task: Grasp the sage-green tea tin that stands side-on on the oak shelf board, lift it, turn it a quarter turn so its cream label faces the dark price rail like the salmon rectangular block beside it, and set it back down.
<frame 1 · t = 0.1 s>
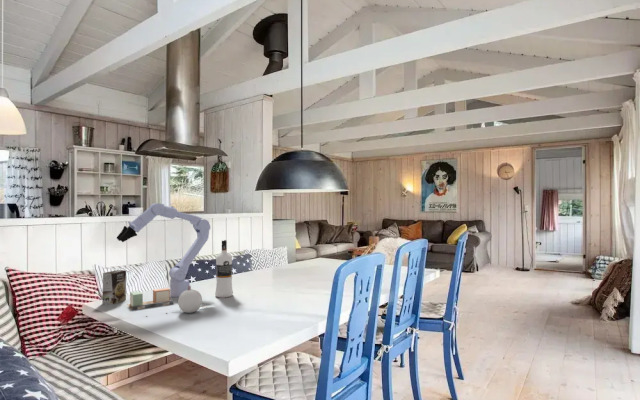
hand: (119, 240, 187), 32 cm above the table, tool tilted 50°, fingers open, 7 cm apart
shelf: (150, 306, 185), on the table
vodka: (224, 296, 206), on the table
salmon rectangular block: (161, 301, 189), point 1 cm above the table, touching shelf
ornament: (190, 312, 174), on the table
sage tin: (136, 305, 182), point 1 cm above the table, touching shelf
coffee box: (114, 304, 190), on the table
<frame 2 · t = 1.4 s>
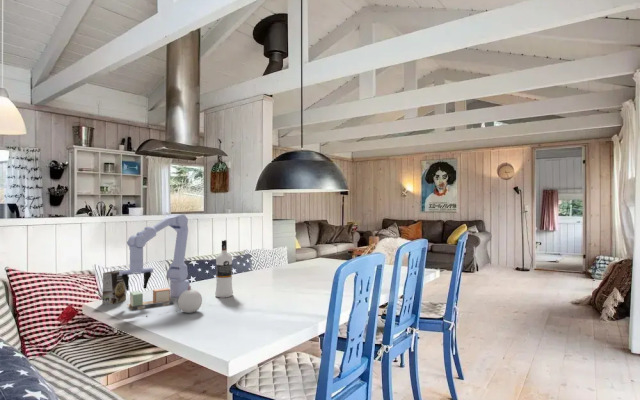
hand: (136, 289, 182), 9 cm above the table, tool pointing down, fingers open, 7 cm apart
nothing on the table moved.
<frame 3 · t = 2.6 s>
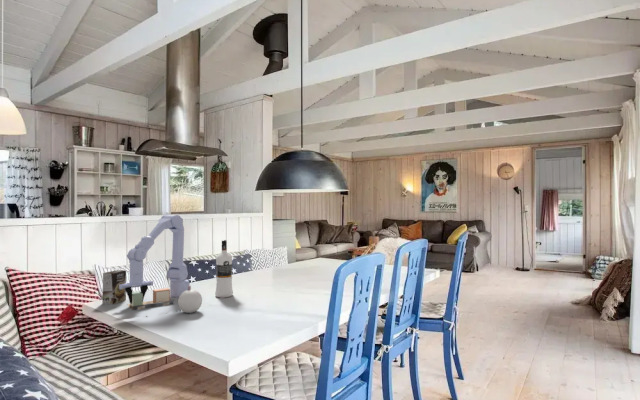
hand: (136, 302, 182), 3 cm above the table, tool pointing down, fingers closed on sage tin, 4 cm apart
sage tin: (136, 305, 182), point 1 cm above the table, touching gripper, shelf
everything else where it was.
when the fingers open (4 cm above the table, at t = 6.7 s): sage tin stays where it is, resting on shelf.
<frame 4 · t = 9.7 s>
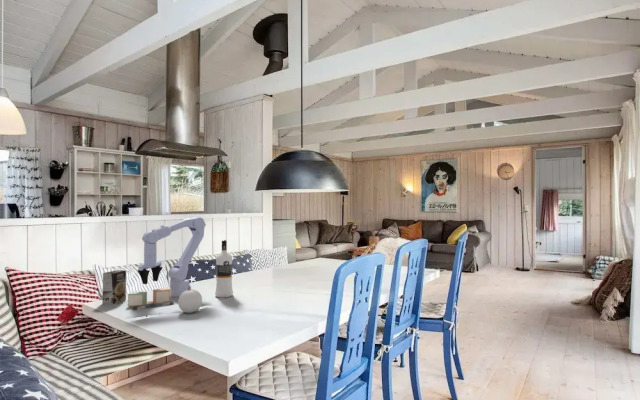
hand: (150, 282, 193), 10 cm above the table, tool pointing down, fingers open, 7 cm apart
sage tin: (137, 305, 182), point 1 cm above the table, touching shelf
everything else where it was.
at the end: sage tin 0.0 cm from the target spot on the shelf, point 1.2 cm above the shelf's base; sage tin tilted 0°; salmon rectangular block moved 0.1 cm from its start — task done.
